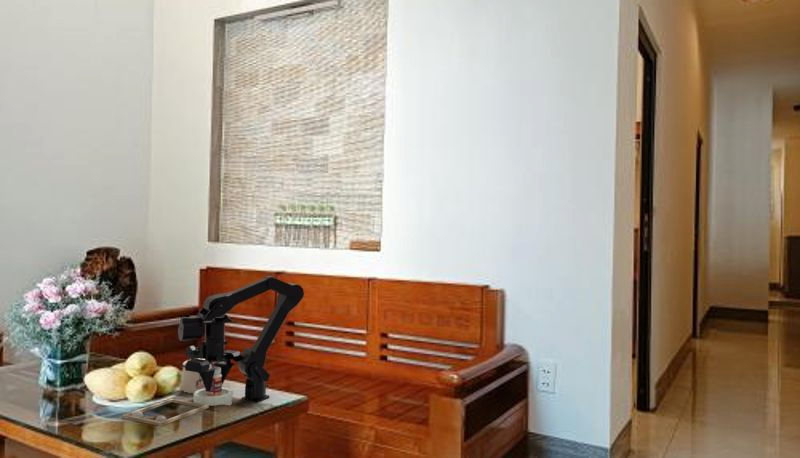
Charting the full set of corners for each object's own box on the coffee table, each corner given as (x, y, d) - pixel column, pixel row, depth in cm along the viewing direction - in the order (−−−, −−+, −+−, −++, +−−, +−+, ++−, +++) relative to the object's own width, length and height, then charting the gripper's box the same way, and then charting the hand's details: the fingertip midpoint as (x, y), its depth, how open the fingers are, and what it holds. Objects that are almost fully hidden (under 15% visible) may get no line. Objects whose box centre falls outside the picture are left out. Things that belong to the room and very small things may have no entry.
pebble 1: (137, 419, 165) (137, 408, 165) (145, 421, 164) (145, 410, 164) (128, 422, 162) (129, 411, 162) (136, 424, 161) (137, 413, 161)
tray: (171, 405, 178) (172, 398, 178) (208, 412, 173) (208, 405, 173) (121, 423, 162) (122, 415, 162) (160, 431, 156) (160, 423, 156)
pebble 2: (160, 424, 162) (161, 413, 162) (169, 426, 161) (169, 415, 161) (152, 427, 159) (152, 416, 159) (160, 429, 158) (160, 418, 158)
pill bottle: (216, 398, 178) (217, 370, 177) (202, 397, 178) (202, 369, 178) (224, 394, 182) (225, 366, 182) (210, 392, 183) (210, 365, 183)
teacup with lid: (198, 395, 190) (199, 358, 190) (175, 391, 193) (176, 356, 193) (221, 386, 201) (222, 351, 201) (199, 383, 204) (200, 349, 204)
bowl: (211, 397, 187) (211, 385, 187) (239, 402, 183) (239, 390, 183) (185, 407, 177) (186, 394, 177) (214, 412, 173) (215, 399, 173)
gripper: (215, 330, 192) (214, 378, 192) (171, 340, 175) (170, 393, 175) (242, 333, 188) (241, 383, 188) (200, 344, 170) (199, 398, 171)
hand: (213, 389), depth 180 cm, fingers closed on pill bottle, 5 cm apart
